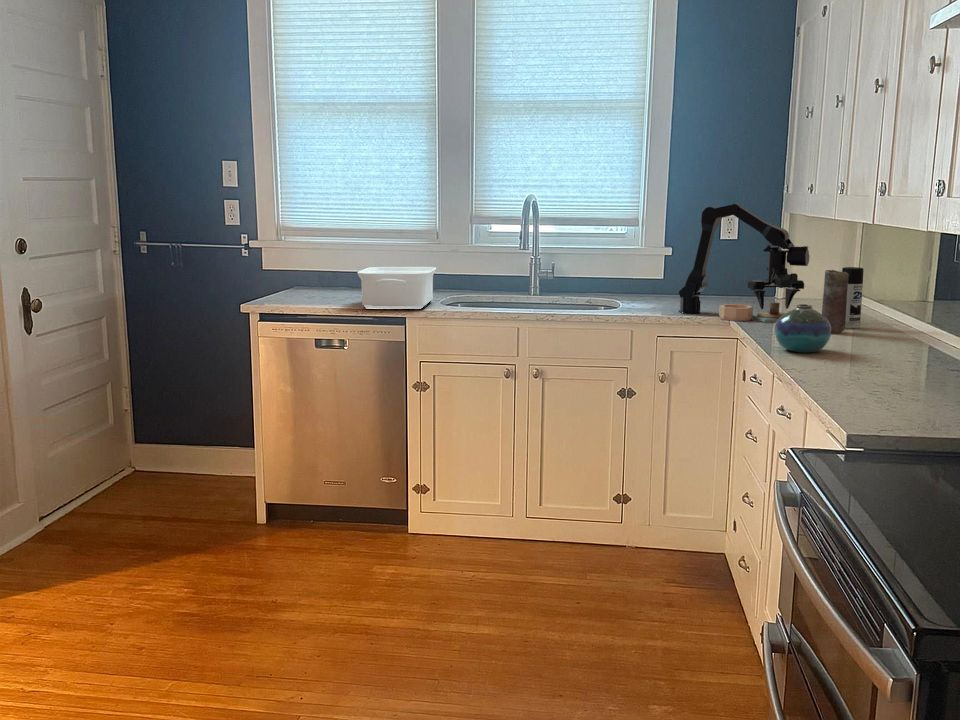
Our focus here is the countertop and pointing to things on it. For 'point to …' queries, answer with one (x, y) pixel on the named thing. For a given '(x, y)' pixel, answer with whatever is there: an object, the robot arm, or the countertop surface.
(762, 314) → the lid
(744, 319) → the bowl
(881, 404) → the countertop surface
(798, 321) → the vase
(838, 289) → the candle
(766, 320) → the mat
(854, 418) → the countertop surface
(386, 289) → the white storage tub
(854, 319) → the spray can
